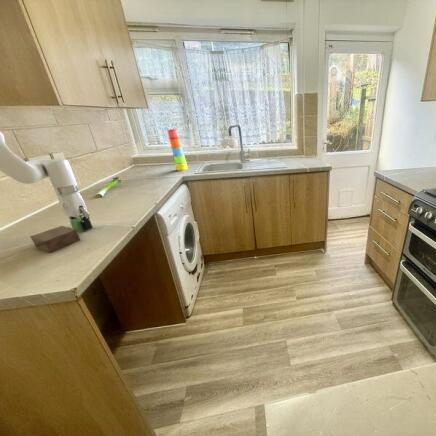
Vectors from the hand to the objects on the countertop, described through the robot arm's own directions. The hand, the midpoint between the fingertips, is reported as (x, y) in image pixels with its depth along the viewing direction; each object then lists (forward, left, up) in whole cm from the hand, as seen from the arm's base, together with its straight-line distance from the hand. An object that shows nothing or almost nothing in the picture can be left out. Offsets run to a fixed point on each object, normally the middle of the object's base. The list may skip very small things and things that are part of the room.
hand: (82, 227), depth 108 cm
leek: (+44, +51, -1) cm, 67 cm away
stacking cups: (+106, +50, -1) cm, 117 cm away
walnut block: (-12, -6, -1) cm, 13 cm away
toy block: (0, 0, -1) cm, 1 cm away
